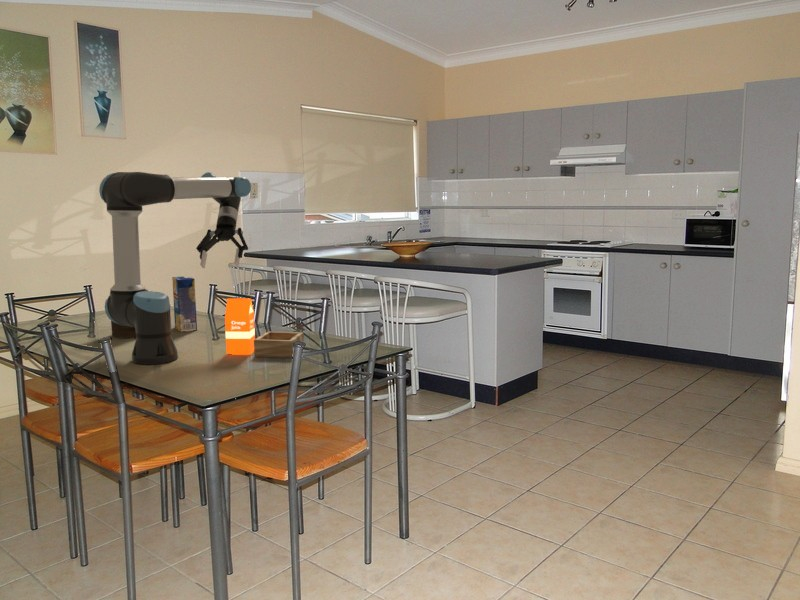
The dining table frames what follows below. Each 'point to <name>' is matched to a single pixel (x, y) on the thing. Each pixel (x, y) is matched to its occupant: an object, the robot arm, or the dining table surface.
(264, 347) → the box
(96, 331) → the dining table surface
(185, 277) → the beverage box
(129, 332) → the wooden container
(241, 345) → the orange juice
